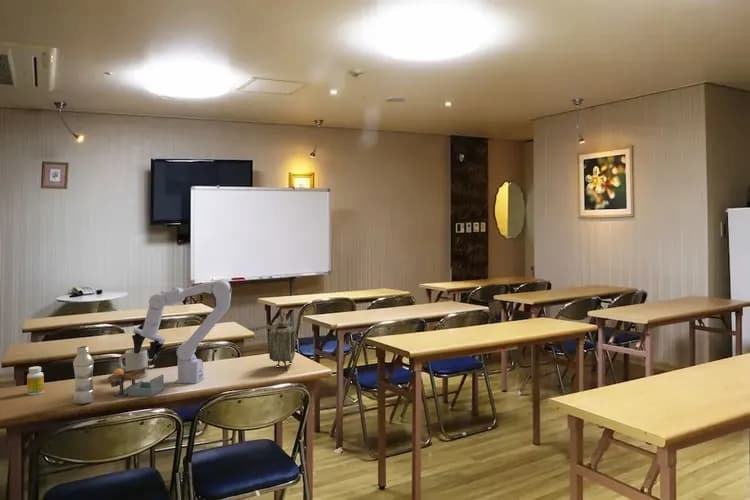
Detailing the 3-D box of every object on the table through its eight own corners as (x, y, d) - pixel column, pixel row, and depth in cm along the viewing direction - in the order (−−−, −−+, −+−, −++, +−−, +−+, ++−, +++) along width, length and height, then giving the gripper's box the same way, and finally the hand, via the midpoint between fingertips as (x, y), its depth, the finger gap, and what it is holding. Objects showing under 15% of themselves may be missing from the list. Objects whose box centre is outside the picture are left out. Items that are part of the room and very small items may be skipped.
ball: (126, 375, 218) (124, 366, 218) (121, 378, 215) (119, 368, 215) (118, 377, 219) (116, 368, 219) (112, 380, 215) (110, 370, 215)
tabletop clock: (290, 371, 245) (289, 313, 244) (269, 371, 246) (267, 313, 245) (295, 363, 260) (294, 308, 259) (275, 363, 260) (274, 308, 259)
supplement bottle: (32, 395, 214) (31, 369, 214) (24, 393, 217) (23, 368, 216) (46, 392, 219) (46, 366, 218) (39, 390, 221) (38, 365, 221)
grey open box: (163, 390, 219) (163, 374, 219) (151, 396, 211) (151, 380, 210) (141, 389, 221) (140, 373, 220) (128, 396, 212) (127, 380, 212)
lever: (156, 374, 226) (154, 364, 226) (137, 383, 212) (135, 372, 212) (130, 378, 227) (128, 368, 227) (110, 387, 214) (108, 377, 214)
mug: (151, 374, 243) (151, 348, 243) (141, 379, 235) (140, 353, 235) (125, 373, 245) (124, 348, 245) (113, 379, 237) (112, 352, 236)
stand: (141, 388, 222) (141, 371, 221) (125, 396, 211) (125, 378, 211) (129, 388, 222) (129, 371, 222) (113, 396, 212) (112, 378, 211)
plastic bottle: (78, 400, 207) (76, 345, 206) (98, 400, 207) (96, 345, 207) (70, 406, 200) (68, 349, 200) (90, 405, 201) (88, 348, 200)
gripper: (131, 318, 229) (122, 351, 229) (159, 328, 223) (150, 362, 223) (144, 317, 235) (135, 350, 235) (171, 327, 230) (162, 360, 230)
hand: (143, 356), depth 230 cm, fingers open, 7 cm apart
